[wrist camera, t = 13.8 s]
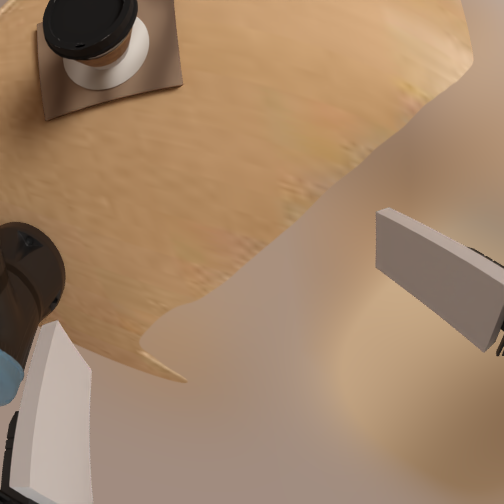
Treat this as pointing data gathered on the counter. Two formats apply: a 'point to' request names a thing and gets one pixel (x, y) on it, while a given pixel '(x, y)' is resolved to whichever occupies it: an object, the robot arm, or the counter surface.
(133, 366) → the counter surface
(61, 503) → the robot arm
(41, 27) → the board
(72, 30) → the coffee cup
